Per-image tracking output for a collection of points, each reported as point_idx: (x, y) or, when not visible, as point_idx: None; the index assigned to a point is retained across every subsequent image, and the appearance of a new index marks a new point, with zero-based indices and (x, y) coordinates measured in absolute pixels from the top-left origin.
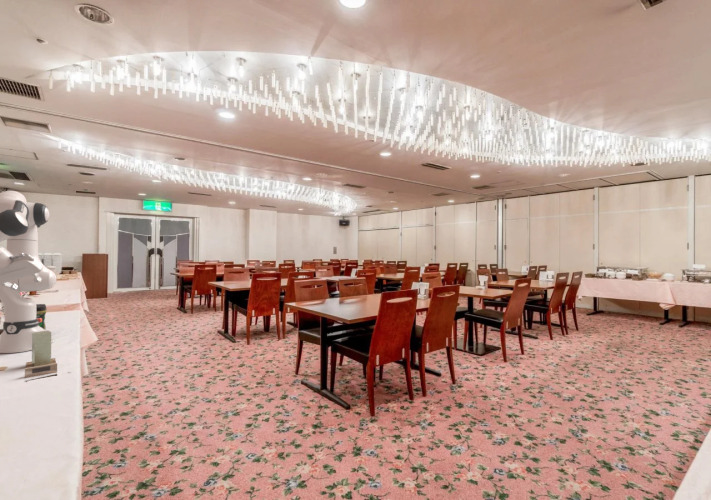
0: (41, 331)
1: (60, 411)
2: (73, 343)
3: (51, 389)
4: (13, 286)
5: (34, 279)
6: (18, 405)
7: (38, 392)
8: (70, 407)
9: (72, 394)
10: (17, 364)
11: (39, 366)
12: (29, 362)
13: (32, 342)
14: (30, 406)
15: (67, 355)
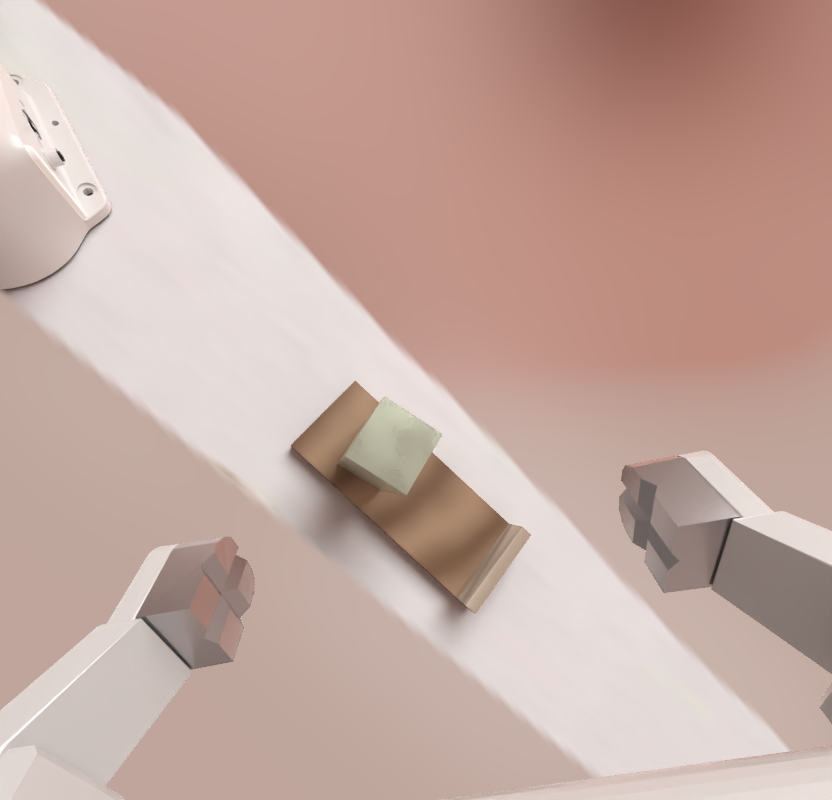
0: (372, 425)
1: None
2: (190, 133)
3: (617, 653)
4: (232, 638)
5: (689, 580)
6: None
7: (605, 683)
8: None
9: (705, 674)
10: (237, 437)
11: (498, 575)
12: (303, 444)
13: (351, 464)
14: None
15: (337, 313)
